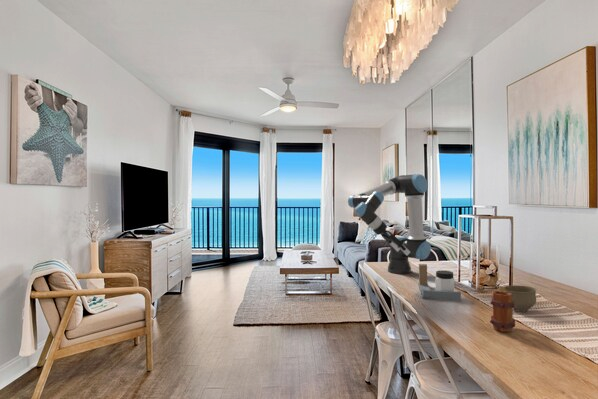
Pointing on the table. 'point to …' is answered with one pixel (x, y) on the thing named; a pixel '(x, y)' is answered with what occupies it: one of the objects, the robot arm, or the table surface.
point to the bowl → (522, 297)
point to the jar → (444, 281)
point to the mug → (502, 310)
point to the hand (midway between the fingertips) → (403, 251)
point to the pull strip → (434, 294)
